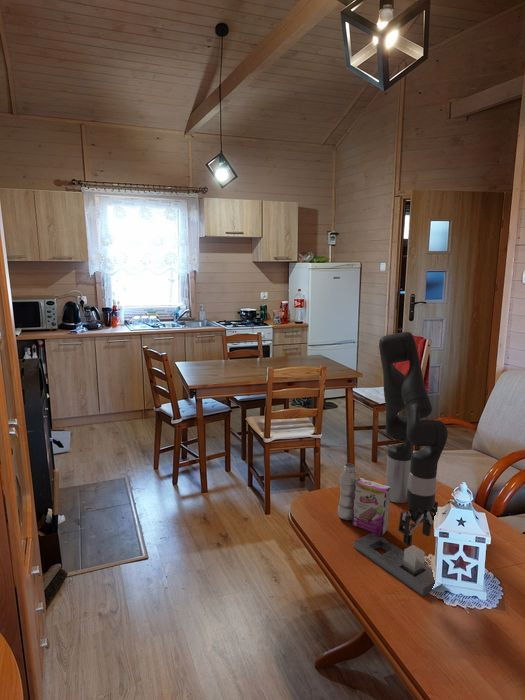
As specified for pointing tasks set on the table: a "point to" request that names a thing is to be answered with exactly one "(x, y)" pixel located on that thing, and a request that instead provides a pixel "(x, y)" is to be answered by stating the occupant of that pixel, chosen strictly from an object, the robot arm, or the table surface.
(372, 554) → the grey board with holes
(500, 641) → the table surface
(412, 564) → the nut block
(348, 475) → the plastic bottle
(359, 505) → the candy bar box
